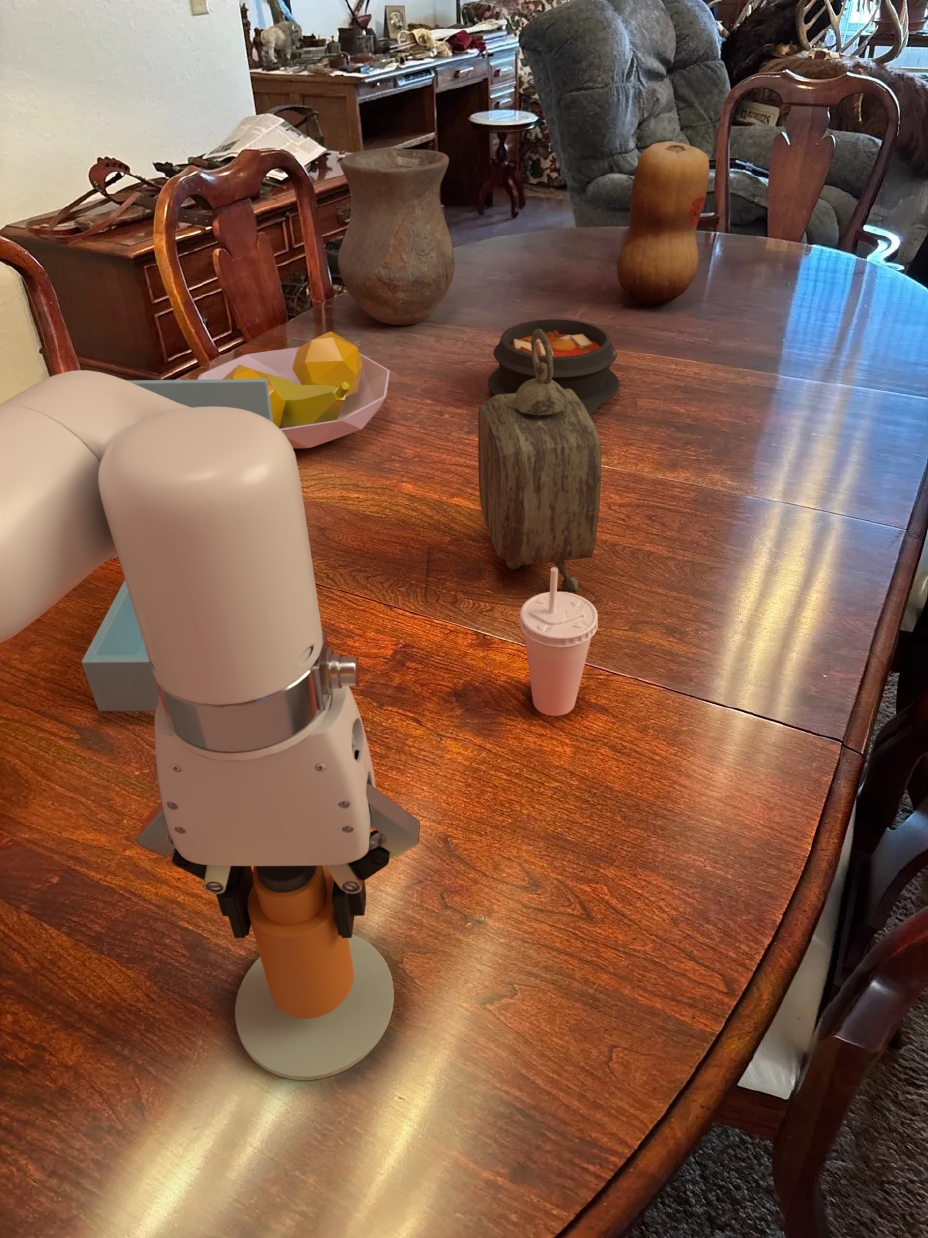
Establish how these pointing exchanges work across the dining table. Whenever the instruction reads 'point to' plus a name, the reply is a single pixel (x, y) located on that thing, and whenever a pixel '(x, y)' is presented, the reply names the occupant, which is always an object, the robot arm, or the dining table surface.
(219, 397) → the lid
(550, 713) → the smoothie
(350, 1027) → the coaster
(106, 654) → the grey-blue rectangular box
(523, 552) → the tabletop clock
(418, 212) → the vase
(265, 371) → the fruit bowl
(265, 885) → the bottle
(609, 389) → the casserole
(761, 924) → the dining table surface
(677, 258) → the butternut squash
